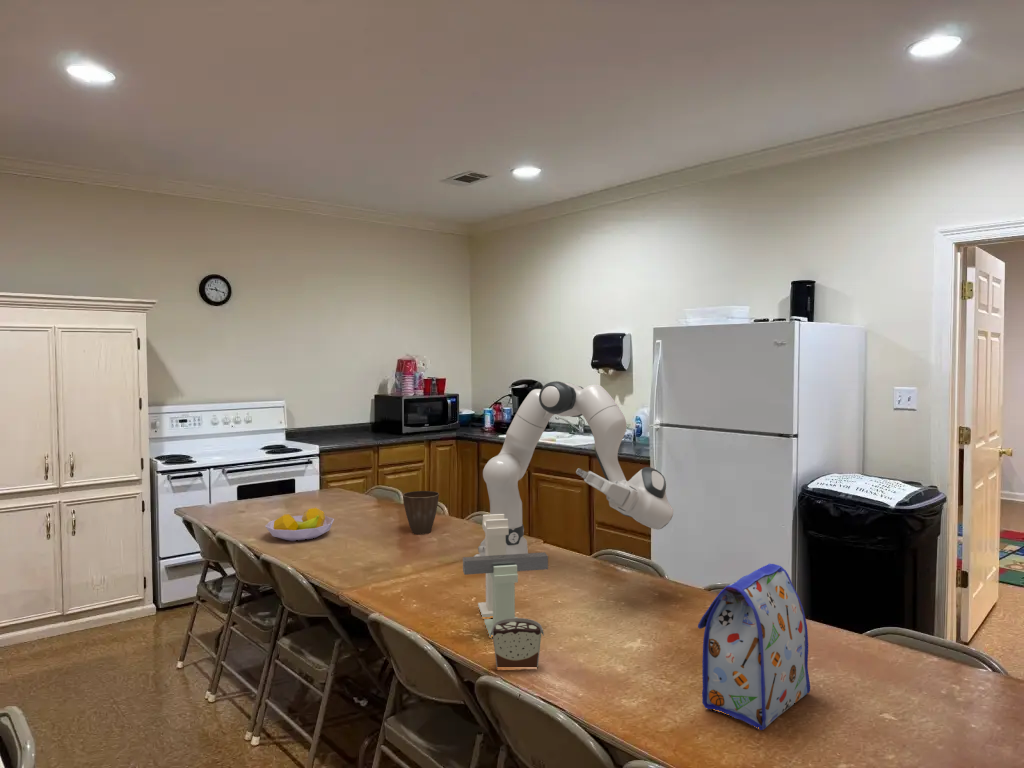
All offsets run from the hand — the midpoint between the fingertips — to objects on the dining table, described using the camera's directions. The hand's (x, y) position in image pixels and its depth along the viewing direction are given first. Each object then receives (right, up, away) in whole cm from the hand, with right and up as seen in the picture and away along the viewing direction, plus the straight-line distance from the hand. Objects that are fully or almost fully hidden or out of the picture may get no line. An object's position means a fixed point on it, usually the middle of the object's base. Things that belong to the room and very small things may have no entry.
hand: (581, 473), depth 194 cm
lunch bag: (+30, -40, -53) cm, 73 cm away
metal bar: (-22, -23, -16) cm, 36 cm away
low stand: (-22, -39, -16) cm, 48 cm away
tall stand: (-25, -39, -3) cm, 46 cm away
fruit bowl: (-106, -37, +81) cm, 138 cm away
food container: (-19, -40, -36) cm, 57 cm away
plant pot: (-58, -36, +88) cm, 111 cm away
